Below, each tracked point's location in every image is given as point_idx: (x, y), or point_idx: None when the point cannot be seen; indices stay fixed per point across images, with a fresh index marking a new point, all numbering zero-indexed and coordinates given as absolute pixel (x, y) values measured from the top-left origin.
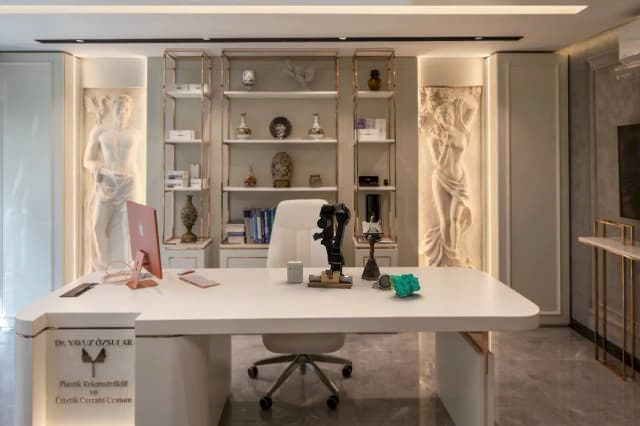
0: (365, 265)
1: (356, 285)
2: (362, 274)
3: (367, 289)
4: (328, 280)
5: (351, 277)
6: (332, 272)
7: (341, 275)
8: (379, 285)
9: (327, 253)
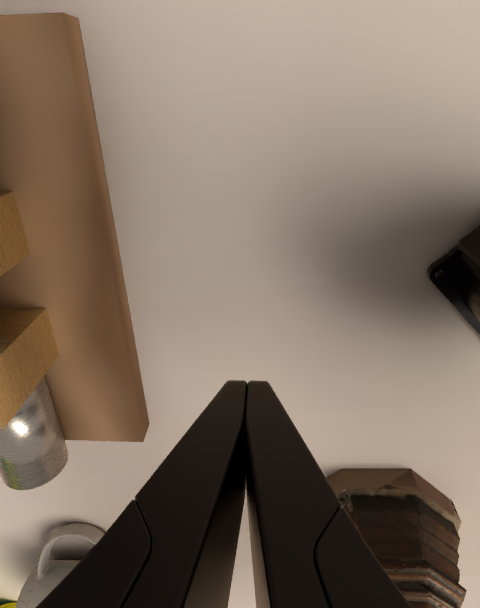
0: (422, 597)
1: (91, 446)
2: (347, 506)
3: (2, 500)
4: (73, 250)
5: (3, 479)
6: (475, 251)
7: (472, 325)
8: (34, 569)
9: (197, 431)
